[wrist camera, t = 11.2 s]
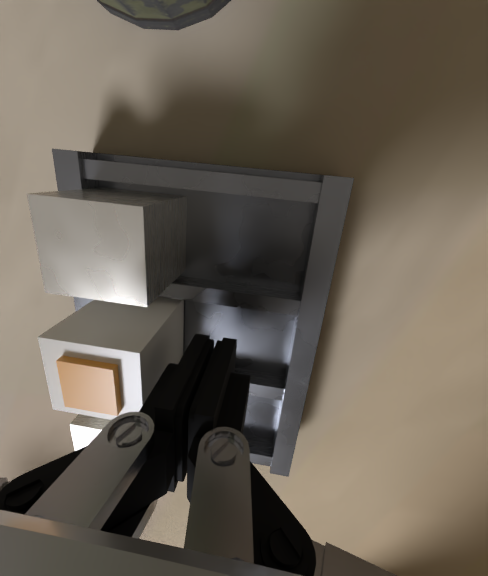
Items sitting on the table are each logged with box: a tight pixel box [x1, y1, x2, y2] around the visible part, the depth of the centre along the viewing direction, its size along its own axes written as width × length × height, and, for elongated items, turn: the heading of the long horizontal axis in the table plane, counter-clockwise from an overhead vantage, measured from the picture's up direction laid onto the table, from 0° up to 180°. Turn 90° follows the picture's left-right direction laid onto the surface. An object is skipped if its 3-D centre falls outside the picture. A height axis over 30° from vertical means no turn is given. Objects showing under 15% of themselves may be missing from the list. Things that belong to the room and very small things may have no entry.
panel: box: [27, 149, 354, 477], centre depth 13 cm, size 11×15×5 cm
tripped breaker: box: [38, 297, 184, 420], centre depth 12 cm, size 4×3×5 cm
